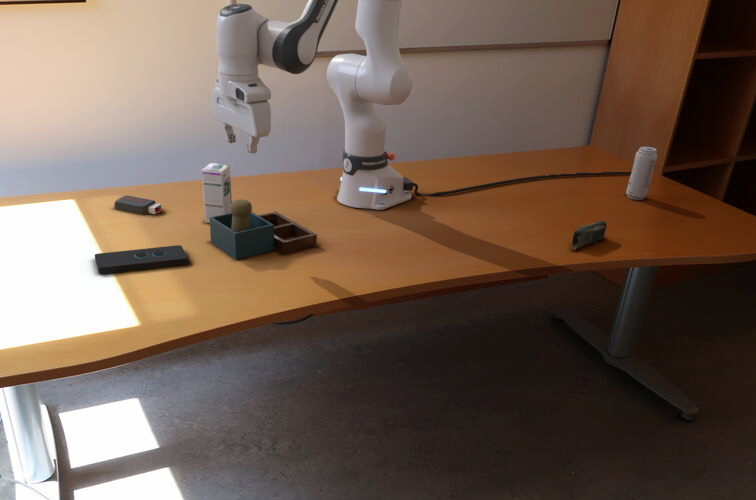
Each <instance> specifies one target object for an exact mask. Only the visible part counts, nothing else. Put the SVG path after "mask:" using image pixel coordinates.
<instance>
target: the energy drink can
mask: <svg viewBox="0 0 756 500" xmlns="http://www.w3.org/2000/svg"><path fill="white" fill-rule="evenodd" d="M657 159H658V153H657V148H655V147H651V146H640V147H639V149H638V150H637V151H636V153H635V156H634V160H633V164H632V167H631V171H632V172H631V174H630V176H629V180H628V183H627V188H626V191H625V193H626V195H627V198H628V199H631V200H636V201H642V200H644V199H645V197H644V196H646V195H647V196H648V191H649V188H650V184H651V181H652V177H653V174H654V169H655V165H656V162H657ZM628 194H629V195H628ZM630 195H632V196H630ZM633 196H637V197H633ZM647 196H646V197H647Z"/></svg>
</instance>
